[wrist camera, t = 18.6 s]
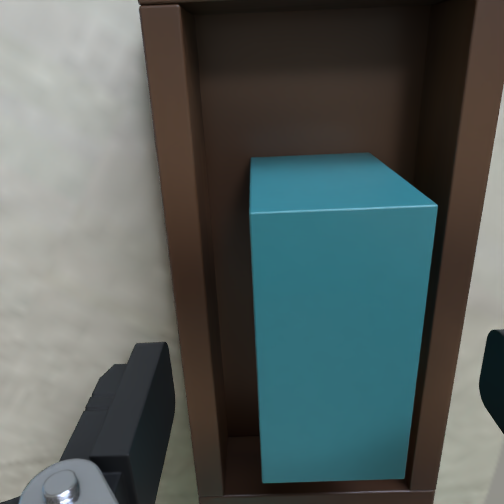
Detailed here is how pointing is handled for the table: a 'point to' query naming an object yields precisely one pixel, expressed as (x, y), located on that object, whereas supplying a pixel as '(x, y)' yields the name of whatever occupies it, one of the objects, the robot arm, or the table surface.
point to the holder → (313, 143)
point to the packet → (336, 314)
